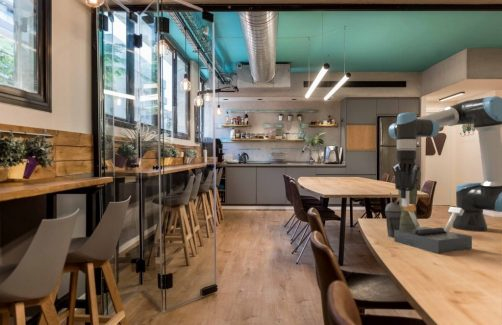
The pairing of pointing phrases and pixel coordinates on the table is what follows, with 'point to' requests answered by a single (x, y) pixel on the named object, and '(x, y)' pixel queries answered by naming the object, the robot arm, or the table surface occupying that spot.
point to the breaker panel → (433, 240)
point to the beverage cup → (392, 217)
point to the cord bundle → (429, 231)
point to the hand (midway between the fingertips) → (405, 206)
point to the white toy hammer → (453, 217)
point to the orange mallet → (412, 214)
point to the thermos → (405, 216)
